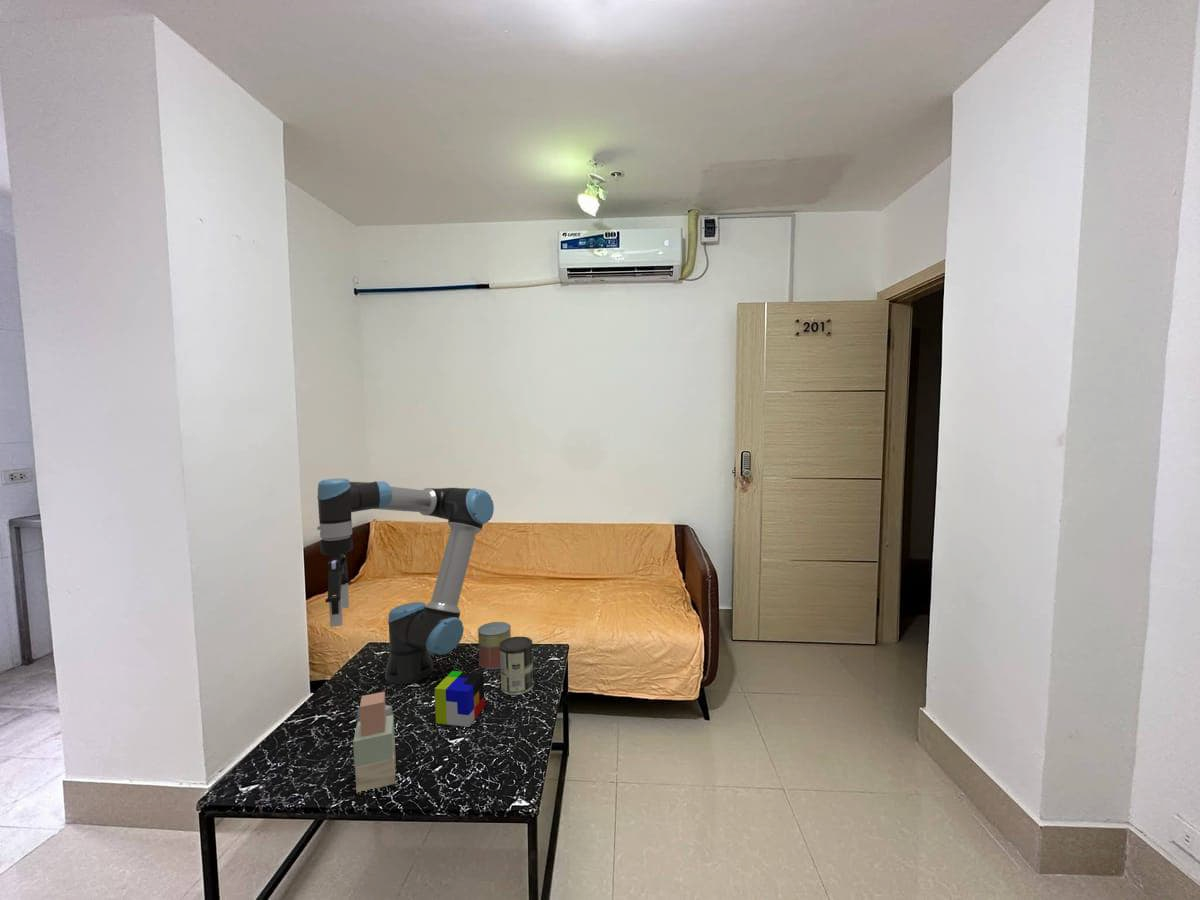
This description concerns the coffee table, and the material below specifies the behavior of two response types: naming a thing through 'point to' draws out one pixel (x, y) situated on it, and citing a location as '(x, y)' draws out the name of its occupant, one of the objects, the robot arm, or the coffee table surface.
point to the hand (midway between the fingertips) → (340, 616)
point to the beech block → (376, 774)
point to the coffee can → (516, 665)
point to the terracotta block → (372, 714)
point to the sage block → (374, 745)
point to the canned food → (492, 643)
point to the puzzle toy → (459, 698)
